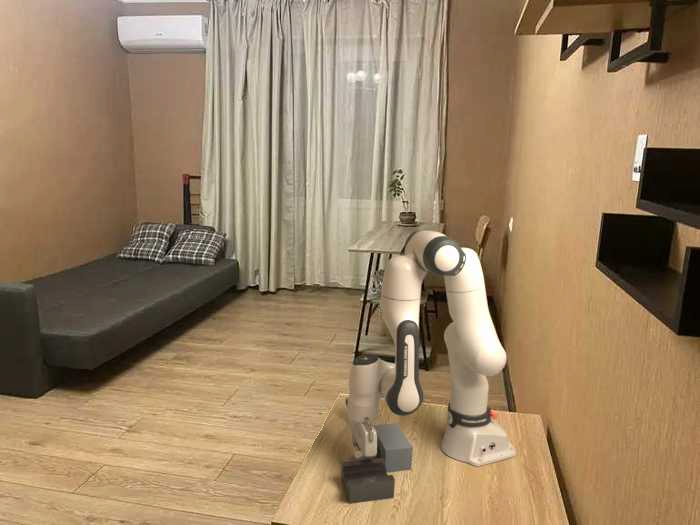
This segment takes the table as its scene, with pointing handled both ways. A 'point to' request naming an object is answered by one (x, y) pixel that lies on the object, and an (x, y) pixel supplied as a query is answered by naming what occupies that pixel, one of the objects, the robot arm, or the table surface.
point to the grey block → (394, 447)
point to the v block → (366, 480)
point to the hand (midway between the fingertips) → (360, 453)
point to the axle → (358, 454)
